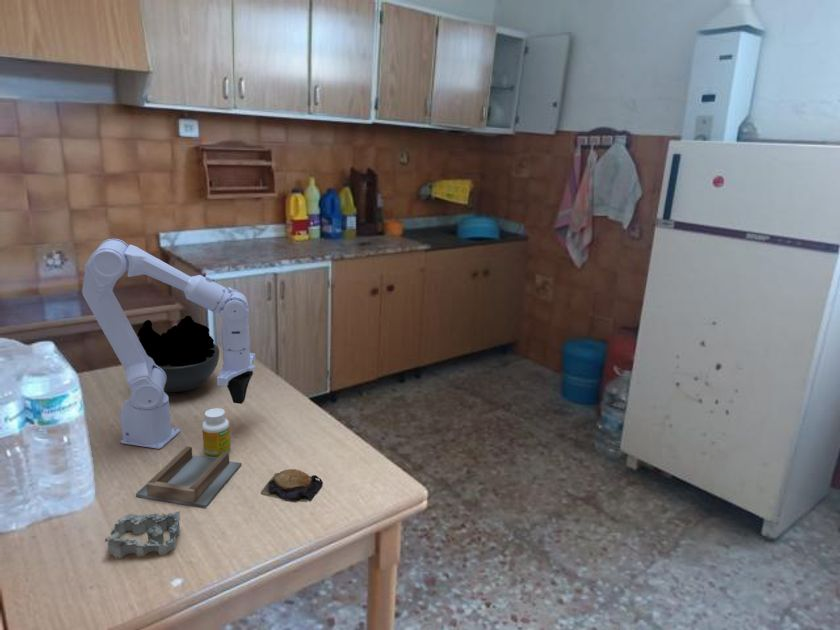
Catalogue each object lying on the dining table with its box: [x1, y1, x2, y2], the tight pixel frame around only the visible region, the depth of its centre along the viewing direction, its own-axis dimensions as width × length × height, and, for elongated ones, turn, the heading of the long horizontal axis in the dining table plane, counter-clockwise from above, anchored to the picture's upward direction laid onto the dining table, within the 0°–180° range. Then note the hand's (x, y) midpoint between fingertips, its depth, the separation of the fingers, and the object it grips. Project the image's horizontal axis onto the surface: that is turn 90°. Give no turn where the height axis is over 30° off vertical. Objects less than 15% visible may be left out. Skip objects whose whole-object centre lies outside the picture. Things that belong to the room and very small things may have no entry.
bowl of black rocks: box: [136, 315, 220, 393], centre depth 149 cm, size 20×20×19 cm
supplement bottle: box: [201, 407, 231, 459], centre depth 122 cm, size 5×5×10 cm
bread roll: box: [260, 468, 324, 503], centre depth 114 cm, size 11×8×4 cm
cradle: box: [135, 446, 242, 509], centre depth 114 cm, size 14×14×3 cm
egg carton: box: [104, 511, 181, 560], centre depth 97 cm, size 11×8×4 cm
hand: (238, 402), depth 132 cm, fingers closed
